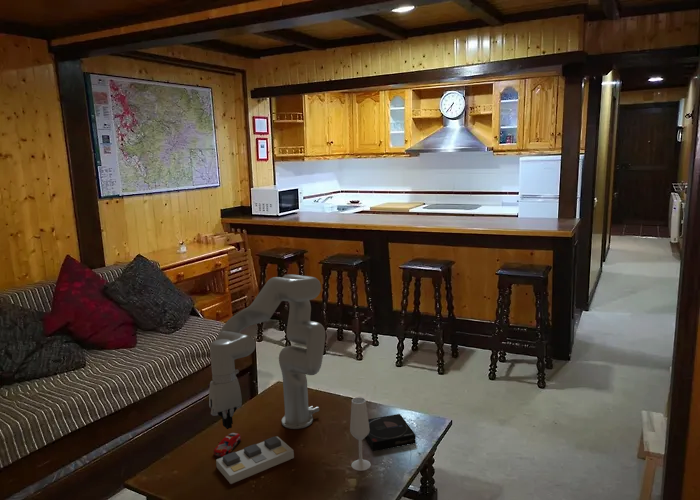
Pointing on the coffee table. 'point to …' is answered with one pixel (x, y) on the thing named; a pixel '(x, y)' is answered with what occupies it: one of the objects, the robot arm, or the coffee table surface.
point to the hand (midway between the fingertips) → (227, 426)
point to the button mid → (252, 450)
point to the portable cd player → (389, 432)
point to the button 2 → (272, 443)
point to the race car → (227, 444)
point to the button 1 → (231, 459)
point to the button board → (255, 462)
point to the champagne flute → (359, 429)
